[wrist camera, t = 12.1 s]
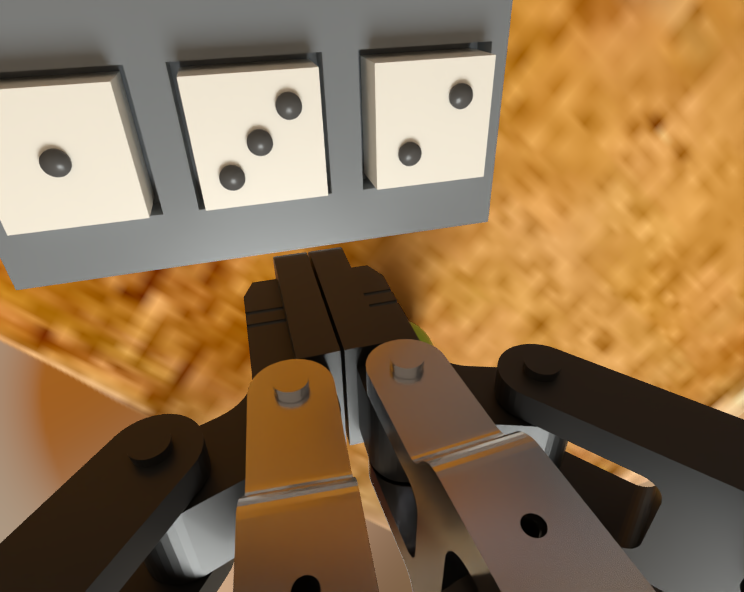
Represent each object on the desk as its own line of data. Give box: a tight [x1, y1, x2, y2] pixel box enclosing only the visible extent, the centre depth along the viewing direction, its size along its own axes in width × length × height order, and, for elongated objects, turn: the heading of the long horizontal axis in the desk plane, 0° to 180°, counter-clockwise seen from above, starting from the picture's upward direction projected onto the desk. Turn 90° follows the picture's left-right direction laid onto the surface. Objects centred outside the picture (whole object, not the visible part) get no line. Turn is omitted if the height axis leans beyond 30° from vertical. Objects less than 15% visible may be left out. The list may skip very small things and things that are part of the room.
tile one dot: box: [0, 71, 154, 236], centre depth 21 cm, size 6×6×3 cm
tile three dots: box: [177, 59, 328, 211], centre depth 23 cm, size 6×6×3 cm
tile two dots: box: [360, 48, 496, 190], centre depth 24 cm, size 6×6×3 cm
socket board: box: [0, 0, 513, 290], centre depth 24 cm, size 12×24×3 cm, turn 91°
